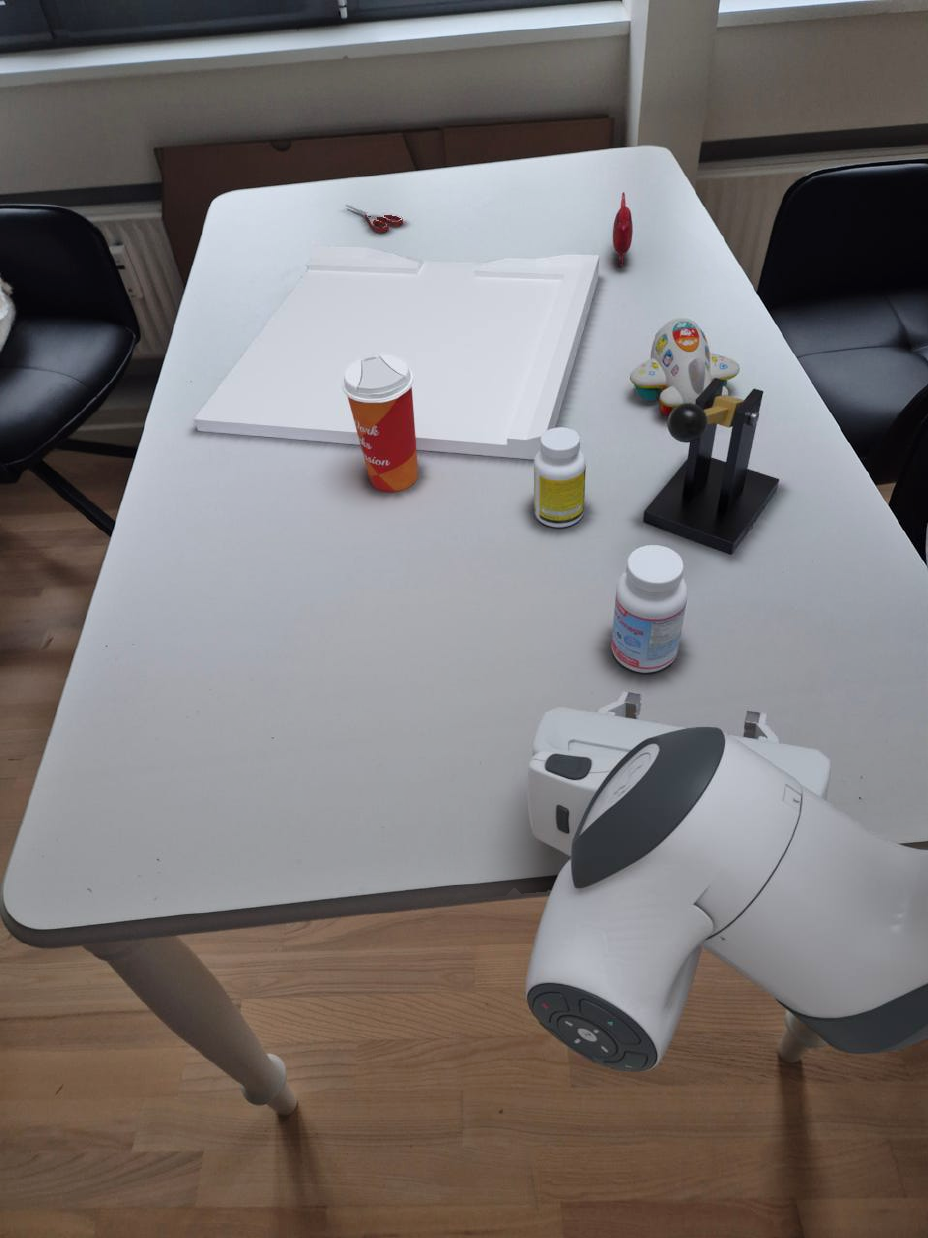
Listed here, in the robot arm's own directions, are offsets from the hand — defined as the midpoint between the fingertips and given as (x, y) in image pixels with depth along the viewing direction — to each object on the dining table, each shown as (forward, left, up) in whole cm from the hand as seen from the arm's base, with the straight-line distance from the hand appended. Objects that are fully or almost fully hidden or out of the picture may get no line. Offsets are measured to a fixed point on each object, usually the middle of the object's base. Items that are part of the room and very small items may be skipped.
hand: (692, 709), depth 67 cm
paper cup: (+19, -44, -7) cm, 49 cm away
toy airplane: (-18, -51, -7) cm, 55 cm away
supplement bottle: (+2, -33, -7) cm, 34 cm away
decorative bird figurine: (-22, -90, -7) cm, 93 cm away
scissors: (+15, -118, -7) cm, 120 cm away
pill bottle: (-1, -12, -7) cm, 14 cm away
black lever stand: (-14, -30, -7) cm, 34 cm away
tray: (+13, -72, -7) cm, 74 cm away
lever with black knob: (-10, -26, +6) cm, 28 cm away
